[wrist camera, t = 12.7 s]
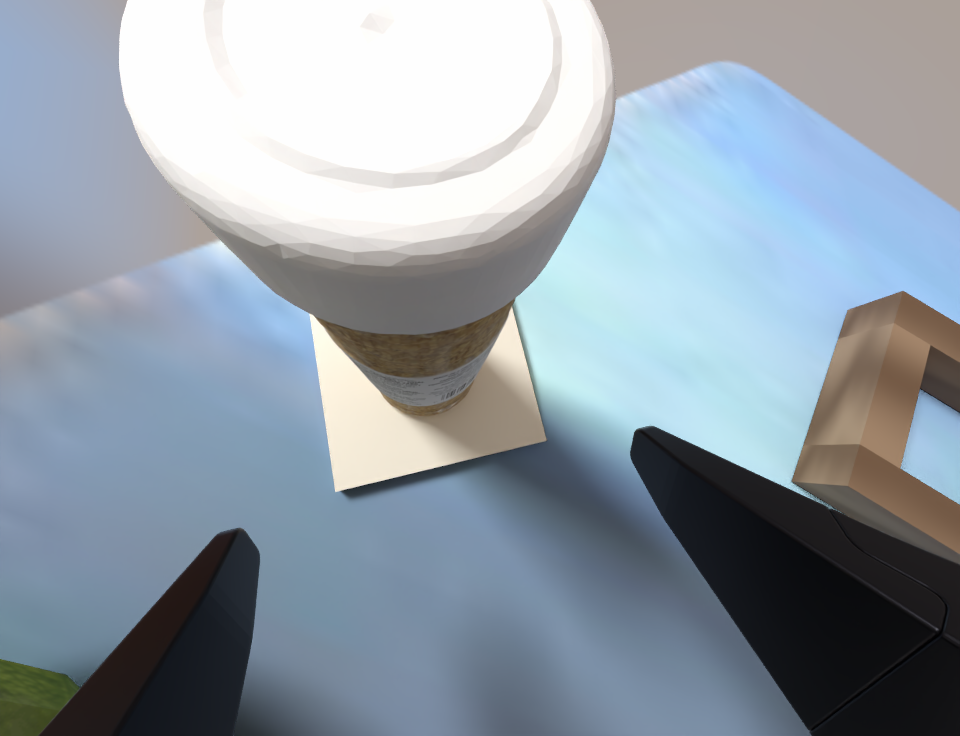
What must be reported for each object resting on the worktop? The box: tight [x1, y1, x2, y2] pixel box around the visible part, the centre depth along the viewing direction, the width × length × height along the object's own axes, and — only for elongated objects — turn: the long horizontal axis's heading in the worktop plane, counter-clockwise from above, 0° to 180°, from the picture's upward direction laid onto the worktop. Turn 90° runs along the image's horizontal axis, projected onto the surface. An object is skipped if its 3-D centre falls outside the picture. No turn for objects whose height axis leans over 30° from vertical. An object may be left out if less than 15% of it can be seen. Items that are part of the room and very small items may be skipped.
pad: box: [310, 307, 547, 492], centre depth 17 cm, size 9×9×1 cm
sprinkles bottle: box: [119, 0, 616, 416], centre depth 10 cm, size 5×5×13 cm
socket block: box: [792, 291, 960, 564], centre depth 18 cm, size 11×11×2 cm
